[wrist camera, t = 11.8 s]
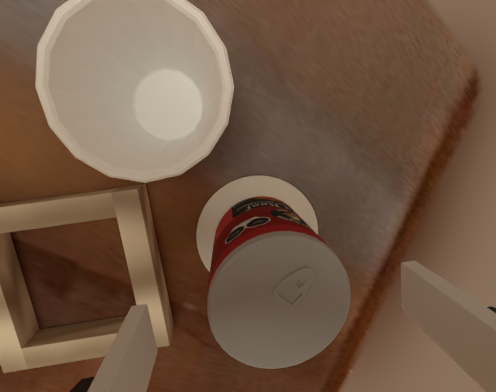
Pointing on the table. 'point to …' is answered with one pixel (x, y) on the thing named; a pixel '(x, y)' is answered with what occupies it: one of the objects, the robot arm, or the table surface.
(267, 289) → the canned food
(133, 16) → the cup
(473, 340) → the robot arm
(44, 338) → the holder
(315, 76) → the table surface
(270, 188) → the coaster
